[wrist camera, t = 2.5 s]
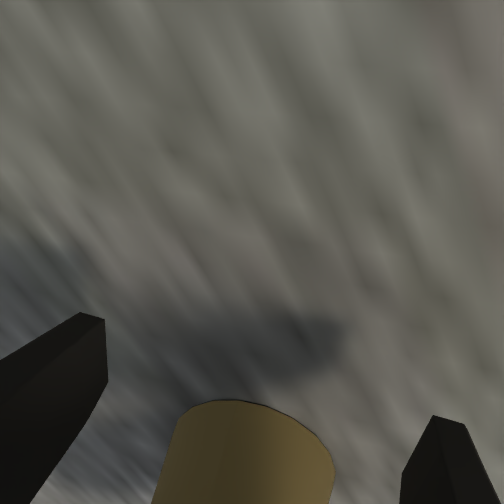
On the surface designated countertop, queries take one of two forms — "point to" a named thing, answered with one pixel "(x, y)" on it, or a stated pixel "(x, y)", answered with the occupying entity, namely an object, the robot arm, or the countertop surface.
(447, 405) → the countertop surface
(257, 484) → the cork
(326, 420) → the countertop surface
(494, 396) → the countertop surface
